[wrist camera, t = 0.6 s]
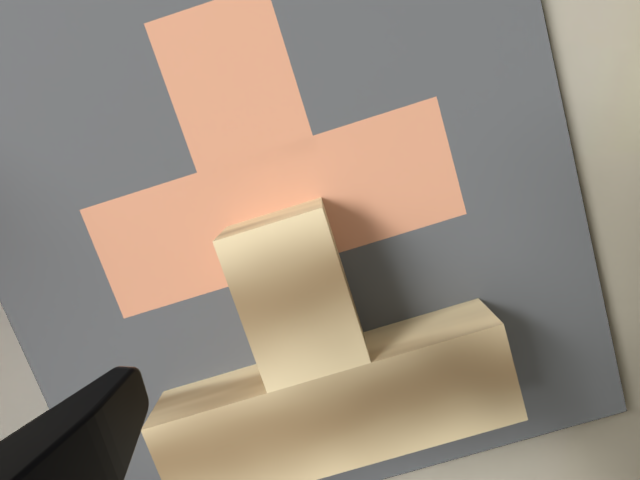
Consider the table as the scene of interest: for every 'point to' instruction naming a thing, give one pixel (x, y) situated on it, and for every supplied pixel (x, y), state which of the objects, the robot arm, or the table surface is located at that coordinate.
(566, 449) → the table surface
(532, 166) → the mat
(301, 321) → the t block
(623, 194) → the table surface
